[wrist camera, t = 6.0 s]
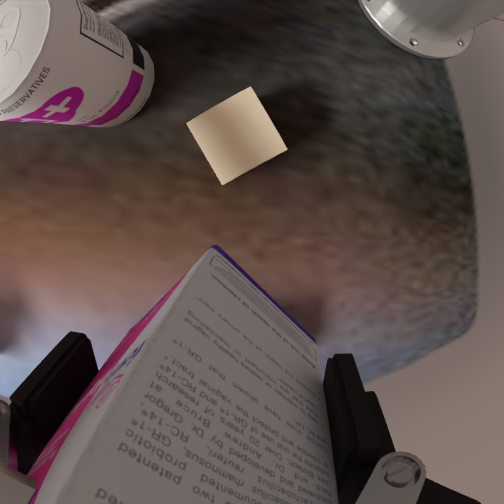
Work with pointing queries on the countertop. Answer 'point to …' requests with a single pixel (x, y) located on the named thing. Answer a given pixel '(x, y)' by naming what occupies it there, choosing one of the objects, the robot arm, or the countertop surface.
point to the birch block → (236, 135)
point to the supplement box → (199, 406)
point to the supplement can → (68, 66)
